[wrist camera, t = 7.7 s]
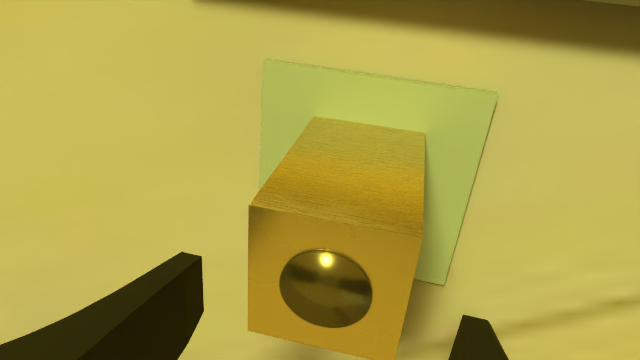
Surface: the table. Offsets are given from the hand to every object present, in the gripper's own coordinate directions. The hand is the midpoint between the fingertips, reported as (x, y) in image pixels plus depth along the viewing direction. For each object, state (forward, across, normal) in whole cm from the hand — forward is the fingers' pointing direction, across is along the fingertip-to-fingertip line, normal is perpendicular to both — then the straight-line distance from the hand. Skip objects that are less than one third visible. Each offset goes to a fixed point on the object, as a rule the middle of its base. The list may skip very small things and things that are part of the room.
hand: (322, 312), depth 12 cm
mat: (+8, 0, 0) cm, 8 cm away
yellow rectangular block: (+8, 0, 0) cm, 8 cm away
